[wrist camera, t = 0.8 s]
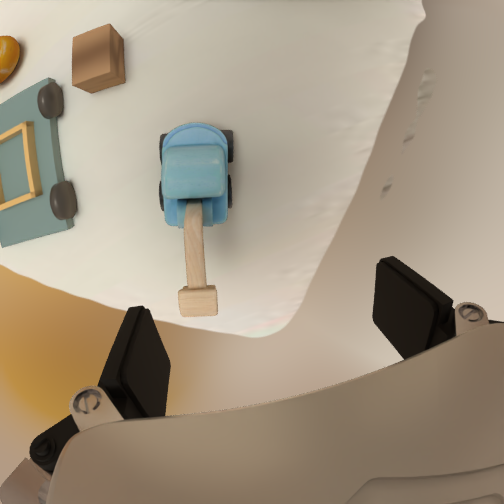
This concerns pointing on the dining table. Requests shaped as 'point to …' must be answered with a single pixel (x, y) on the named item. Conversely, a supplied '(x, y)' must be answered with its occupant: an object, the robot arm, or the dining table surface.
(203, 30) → the dining table surface
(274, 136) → the dining table surface
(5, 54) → the fruit
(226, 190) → the toy excavator
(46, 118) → the chassis
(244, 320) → the dining table surface
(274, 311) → the dining table surface
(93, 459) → the robot arm
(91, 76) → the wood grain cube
